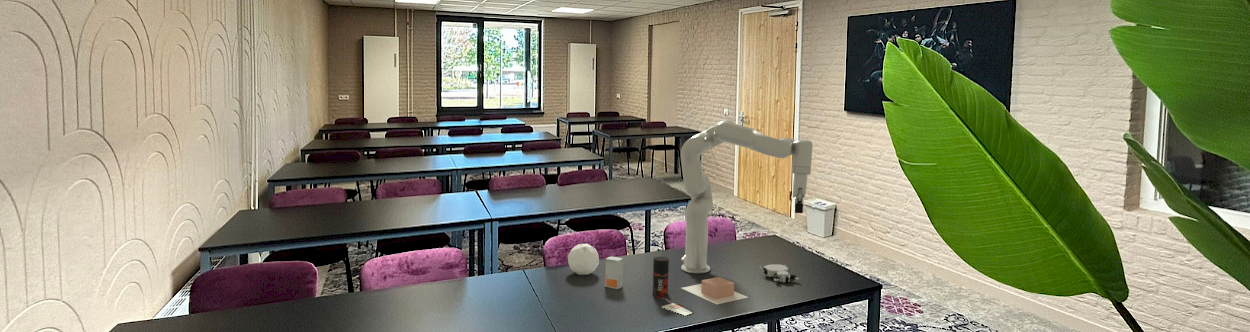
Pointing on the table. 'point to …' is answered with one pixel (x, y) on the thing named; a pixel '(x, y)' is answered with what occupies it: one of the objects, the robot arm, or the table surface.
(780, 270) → the robot toy
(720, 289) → the brick
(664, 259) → the deodorant
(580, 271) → the geodesic sphere
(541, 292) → the table surface
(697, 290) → the plate
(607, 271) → the skincare box
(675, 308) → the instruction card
